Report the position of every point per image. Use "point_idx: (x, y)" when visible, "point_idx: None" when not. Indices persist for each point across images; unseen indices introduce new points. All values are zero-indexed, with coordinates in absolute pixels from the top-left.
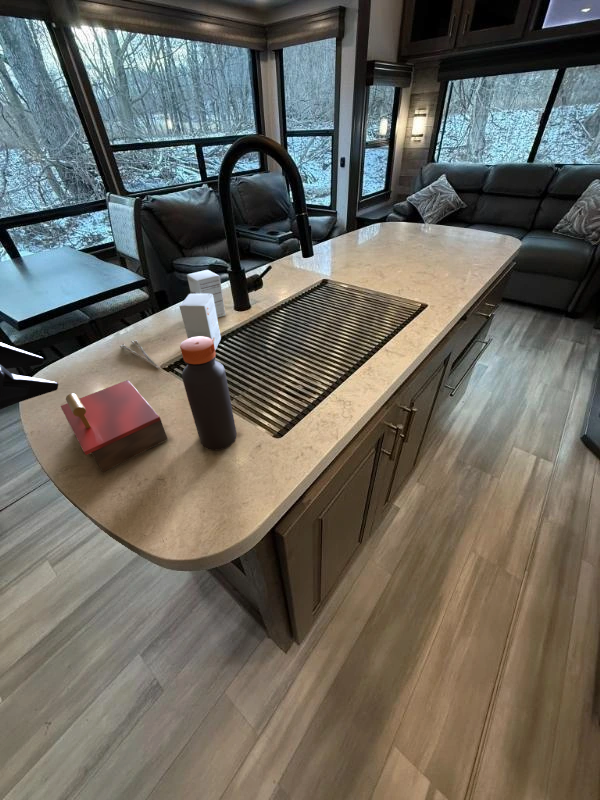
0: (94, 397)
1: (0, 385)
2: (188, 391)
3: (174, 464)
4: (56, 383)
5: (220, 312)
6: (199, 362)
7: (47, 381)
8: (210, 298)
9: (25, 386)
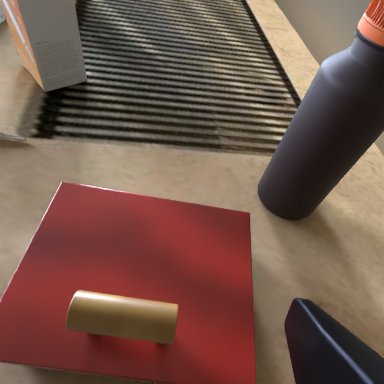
0: (46, 264)
1: None
2: (368, 128)
3: (297, 271)
4: (312, 302)
5: (2, 11)
6: None
7: (342, 329)
8: None
9: None
